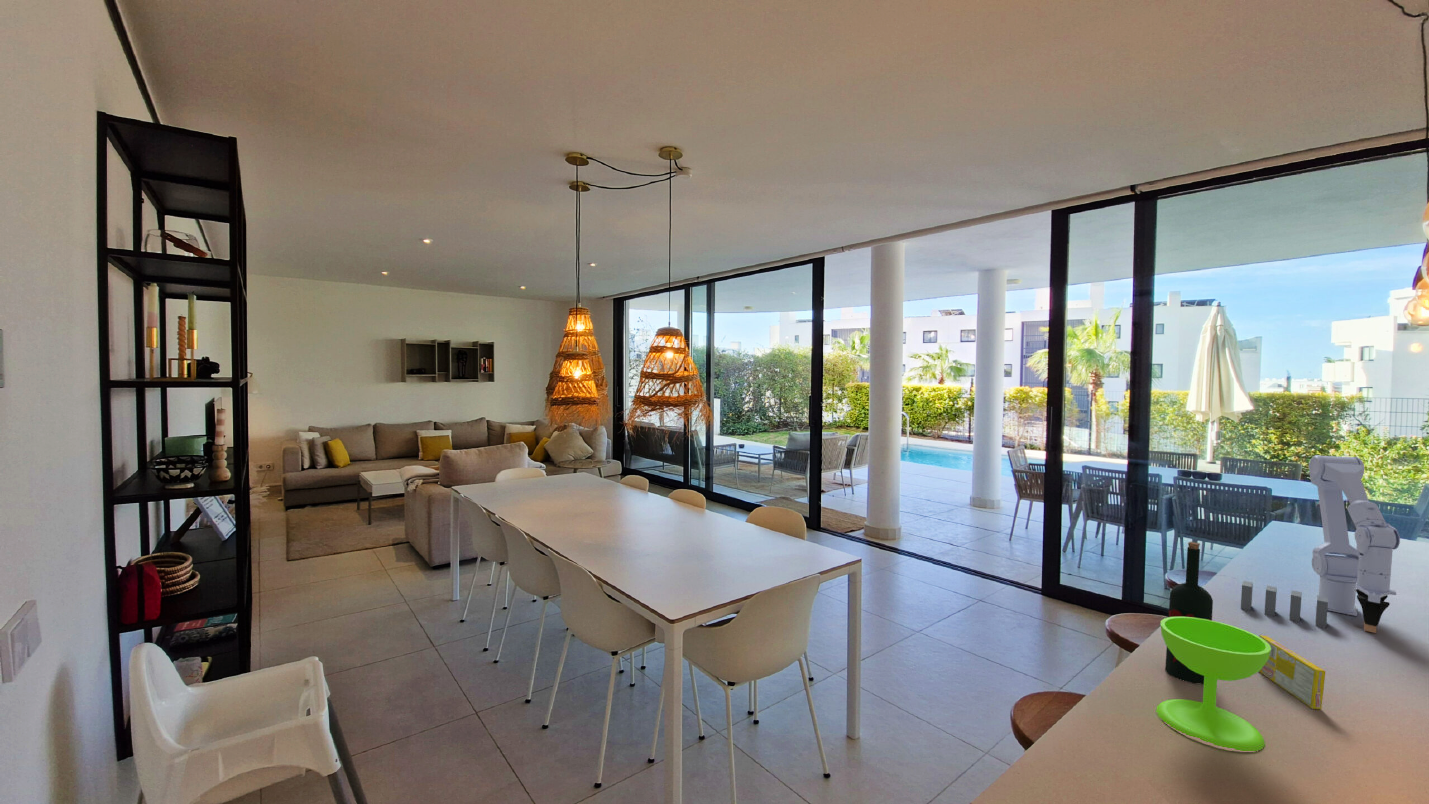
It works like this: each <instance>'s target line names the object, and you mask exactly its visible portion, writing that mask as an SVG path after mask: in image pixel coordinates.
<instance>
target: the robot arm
mask: <svg viewBox="0 0 1429 804" xmlns="http://www.w3.org/2000/svg"><path fill="white" fill-rule="evenodd" d="M1308 471H1309V472H1308V473H1309V478H1310V483H1311V484H1312V485H1314V486H1316V487H1317V495H1318V500H1319V501H1318V502H1319V509H1320V518H1321V523H1322V532H1323V533H1322V534H1323V540H1324V543H1322V544H1319V545H1318V546H1316V547H1315V548H1313V549H1312V557H1311V567H1312V569H1313V571H1314V572H1315V574H1316V575H1318V576H1319V581H1318V583H1319V585H1318V596H1323V597H1328V610H1327V611H1329V612H1335V613H1339V614H1344V615H1348V616H1355V617H1356V616H1357V617H1358V613H1357V606H1356V599H1357V601H1358V602H1359V604H1360V607H1361V611H1362V616H1363V623H1364V622H1365V624H1368V625H1372V626H1377V627H1378V626H1379V623H1380V621H1381V618H1382V615H1383V613H1384V611H1386V609H1387V608H1389V606H1390V605H1391V603H1390V602H1388V601H1386V599H1387V598H1388V597H1389V596H1390V595H1392V596H1396V595H1397V591H1396V590H1393V589H1390V587H1391V577H1392V576H1391V575H1392V562H1393V552H1394V550H1396V549H1398V548H1399V546H1400V543H1401V537H1400V534H1399V531H1398V529H1396V527H1394V526H1392V525H1391V523H1387V522H1386V520H1385V518H1384V516H1383V514H1382V512H1381V511H1380V509H1379V506H1378V504H1377V503H1375V502H1372V501H1370V500H1369V498H1368V495H1367V492H1366V490H1365V487H1364V484H1363V481H1362V478H1363V477H1364V473H1365V464H1364V462H1363V460H1361V458H1360V457H1358V456H1334V455H1333V456H1332V455H1319V454H1316V455H1313V456H1312V457H1311V458H1310V461H1309V463H1308ZM1343 494H1344V495H1343ZM1344 496H1345V497H1346V499H1347V500H1348V502H1349V504H1348V506H1347V512H1348V515H1349V516H1350V518H1351V520H1352V523H1353V525H1354V527H1355V529H1356V530H1355V532H1354V540H1355V543H1356V547H1354V546H1352V545H1351V544H1350V539H1349V531H1348V530H1349V529H1348V525H1347V524H1348V523H1347V517H1346V510H1345V509H1346V508H1345V501H1344ZM1316 607H1317V597H1316V598H1315V608H1316Z"/></svg>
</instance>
